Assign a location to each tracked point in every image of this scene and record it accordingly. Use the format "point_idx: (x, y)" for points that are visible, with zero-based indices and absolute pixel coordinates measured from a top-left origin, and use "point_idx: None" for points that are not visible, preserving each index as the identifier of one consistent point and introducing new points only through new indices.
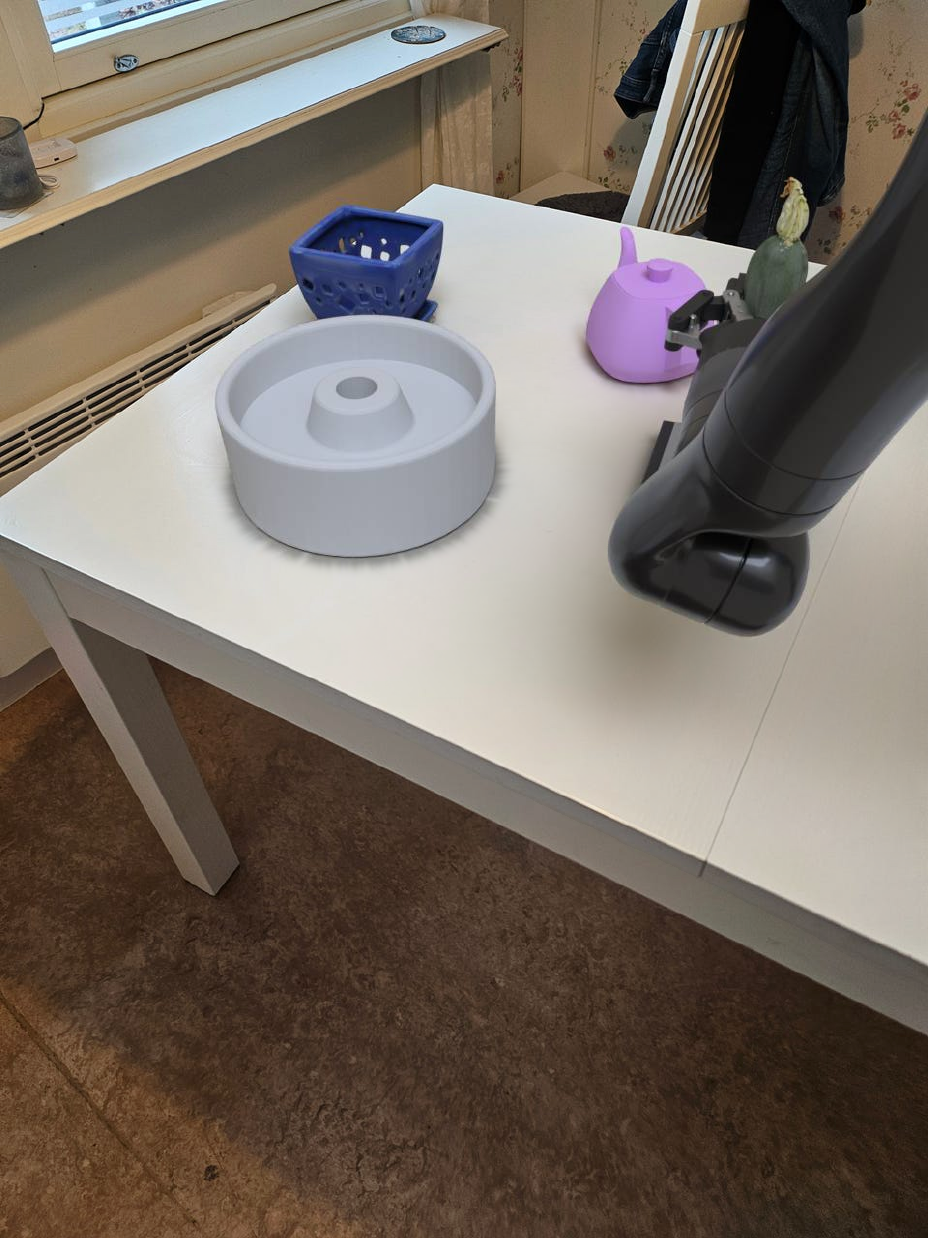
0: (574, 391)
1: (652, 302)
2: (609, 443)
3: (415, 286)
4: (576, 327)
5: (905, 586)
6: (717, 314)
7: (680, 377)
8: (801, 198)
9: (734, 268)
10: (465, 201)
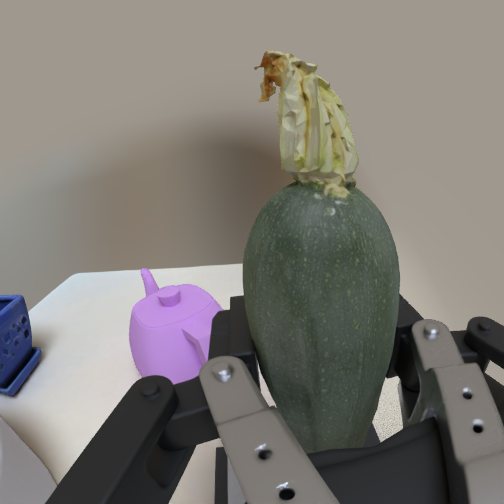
0: None
1: (167, 328)
2: None
3: (4, 347)
4: None
5: None
6: (208, 431)
7: None
8: (318, 78)
9: (236, 275)
10: (84, 276)
